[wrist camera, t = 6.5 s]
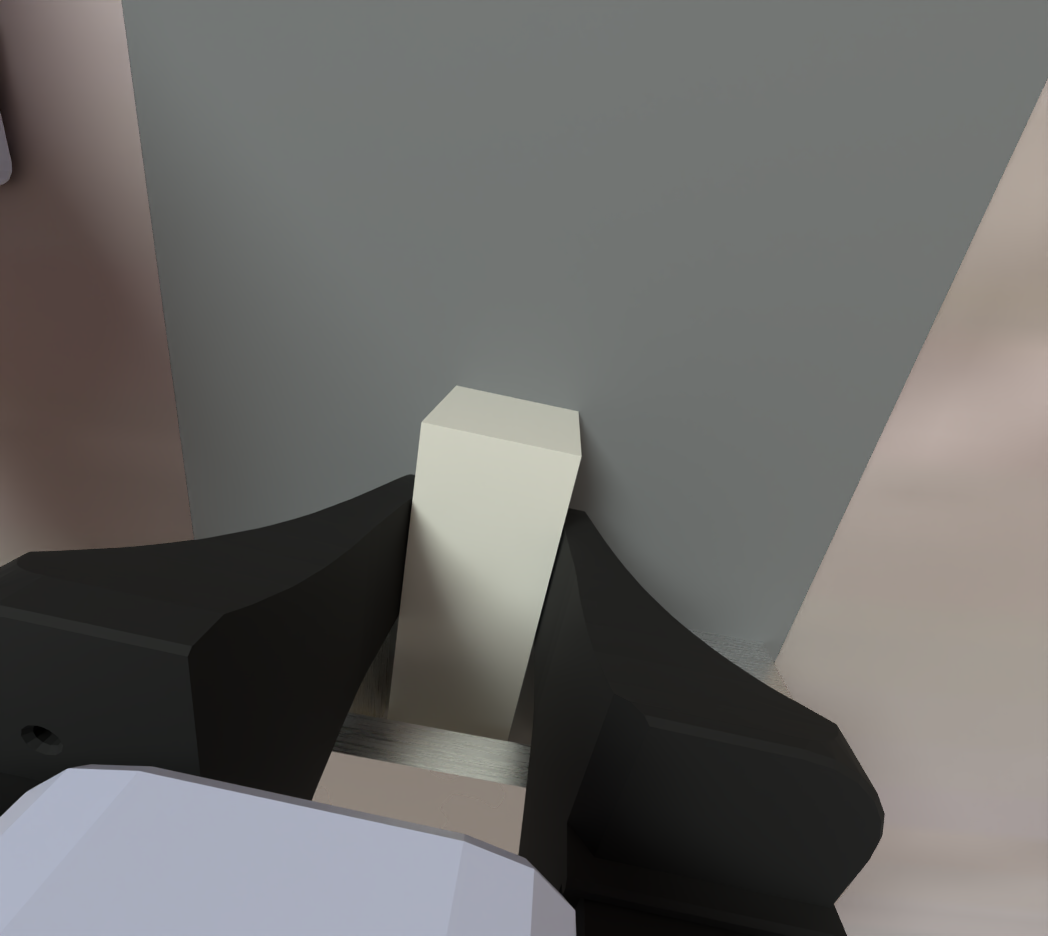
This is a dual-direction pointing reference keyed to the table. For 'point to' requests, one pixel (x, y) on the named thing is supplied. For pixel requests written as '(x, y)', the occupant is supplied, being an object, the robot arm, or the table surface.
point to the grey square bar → (455, 760)
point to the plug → (479, 557)
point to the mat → (571, 251)
